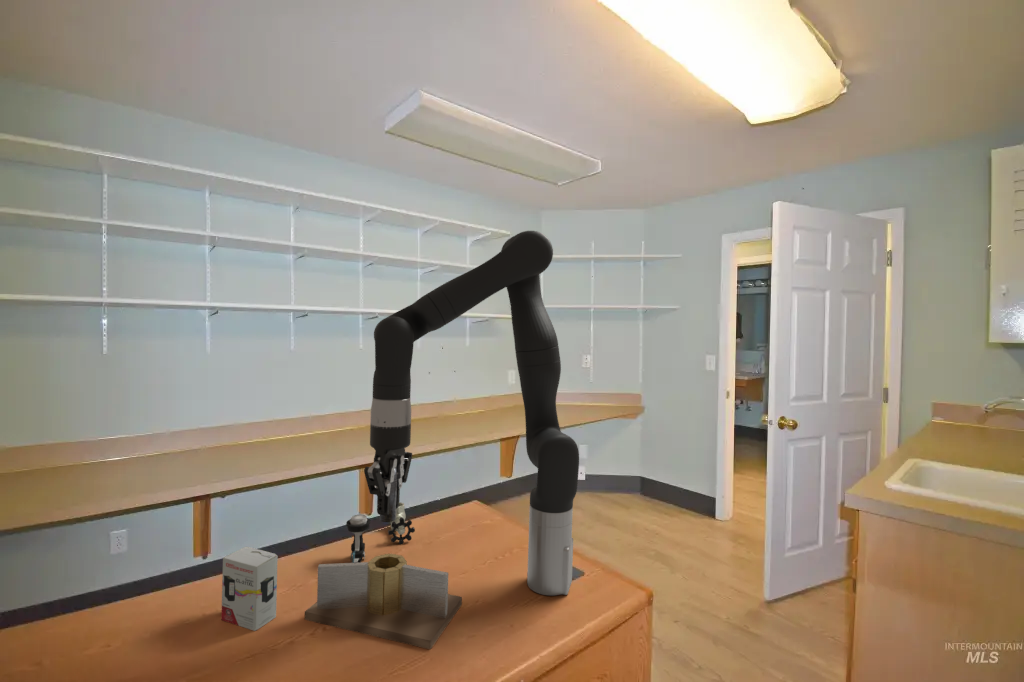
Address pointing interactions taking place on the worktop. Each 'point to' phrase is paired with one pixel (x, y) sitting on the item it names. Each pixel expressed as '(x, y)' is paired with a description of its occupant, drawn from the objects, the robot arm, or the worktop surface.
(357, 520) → the push button
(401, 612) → the board
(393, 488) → the hinge pin
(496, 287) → the robot arm
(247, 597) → the ink box
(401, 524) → the valve
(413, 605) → the hinge knuckles
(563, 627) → the worktop surface
